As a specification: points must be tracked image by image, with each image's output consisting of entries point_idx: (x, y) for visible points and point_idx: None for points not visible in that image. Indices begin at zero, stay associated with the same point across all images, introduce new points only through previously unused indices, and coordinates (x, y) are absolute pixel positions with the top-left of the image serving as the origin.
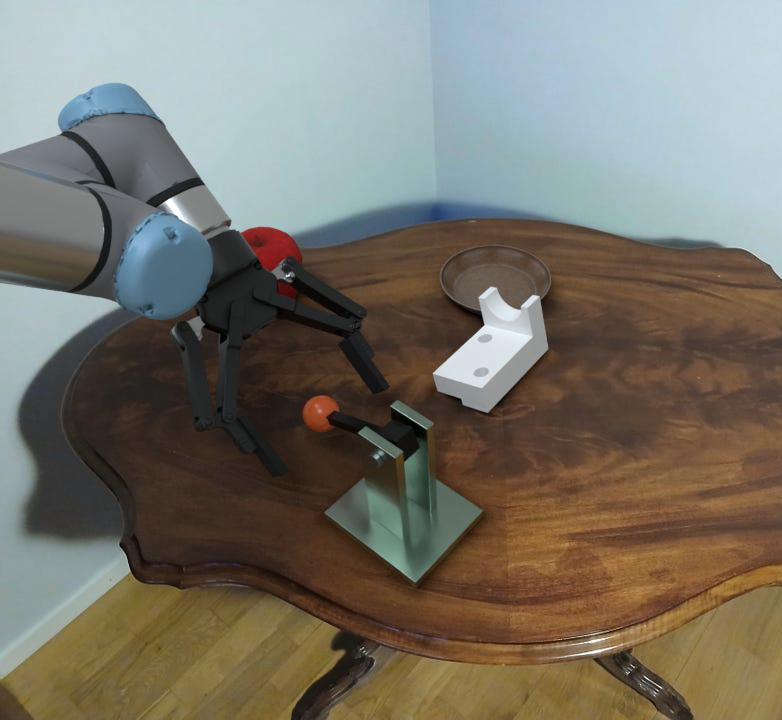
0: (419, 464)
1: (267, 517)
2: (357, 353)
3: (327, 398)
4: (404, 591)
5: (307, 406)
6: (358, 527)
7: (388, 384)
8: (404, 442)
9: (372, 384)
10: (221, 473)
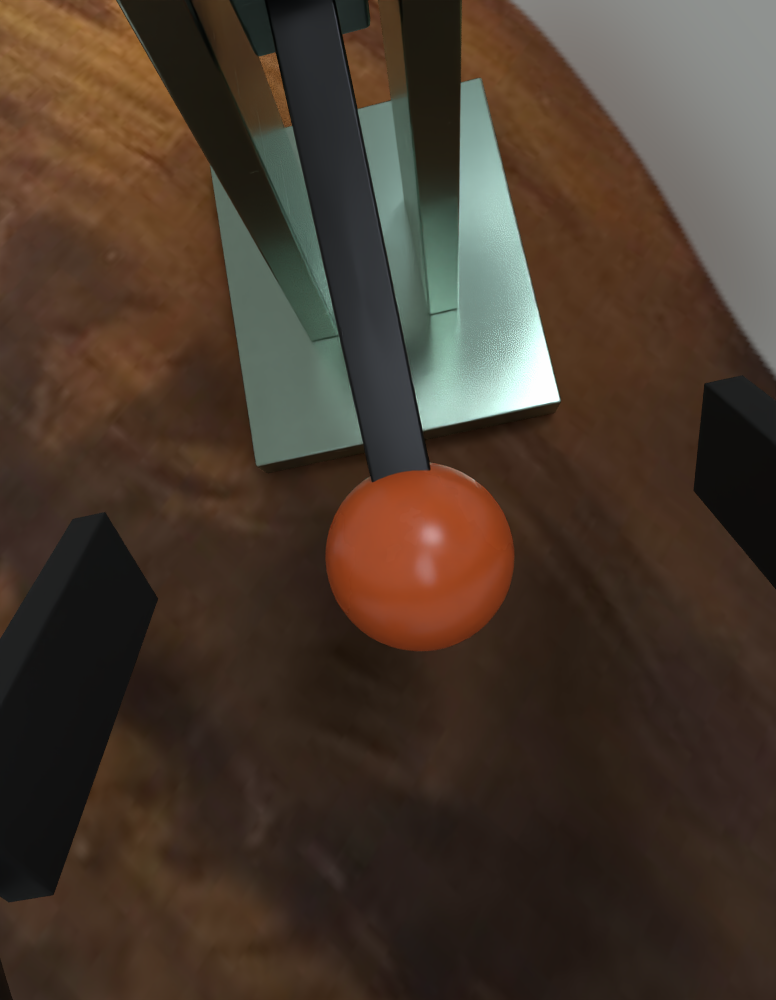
0: (260, 80)
1: (697, 528)
2: (16, 704)
3: (359, 551)
4: (506, 115)
5: (477, 579)
6: (507, 295)
7: (69, 528)
8: None
9: (121, 596)
10: (750, 793)
